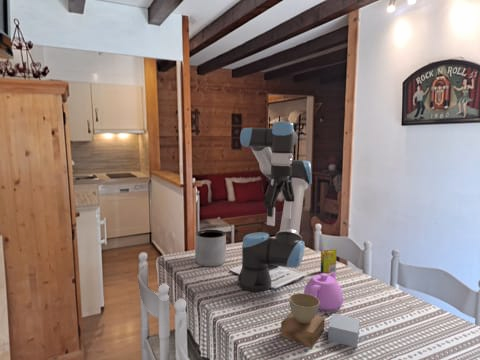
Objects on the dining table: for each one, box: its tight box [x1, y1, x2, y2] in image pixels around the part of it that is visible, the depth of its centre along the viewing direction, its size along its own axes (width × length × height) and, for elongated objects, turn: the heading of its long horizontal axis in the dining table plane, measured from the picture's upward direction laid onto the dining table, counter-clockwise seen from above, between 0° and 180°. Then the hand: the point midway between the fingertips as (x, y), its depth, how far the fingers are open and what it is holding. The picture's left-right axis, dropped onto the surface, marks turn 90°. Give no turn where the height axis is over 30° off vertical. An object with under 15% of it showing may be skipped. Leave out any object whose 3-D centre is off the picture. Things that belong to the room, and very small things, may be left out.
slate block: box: [327, 312, 361, 348], centre depth 112 cm, size 9×9×5 cm
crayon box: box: [320, 248, 337, 274], centre depth 168 cm, size 7×3×12 cm, turn 108°
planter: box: [194, 229, 227, 268], centre depth 176 cm, size 16×16×16 cm
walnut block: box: [280, 311, 326, 349], centre depth 114 cm, size 11×11×5 cm
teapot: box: [303, 271, 344, 312], centre depth 135 cm, size 22×16×12 cm
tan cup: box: [288, 292, 320, 324], centre depth 113 cm, size 10×10×7 cm
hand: (279, 221), depth 125 cm, fingers open, 13 cm apart
